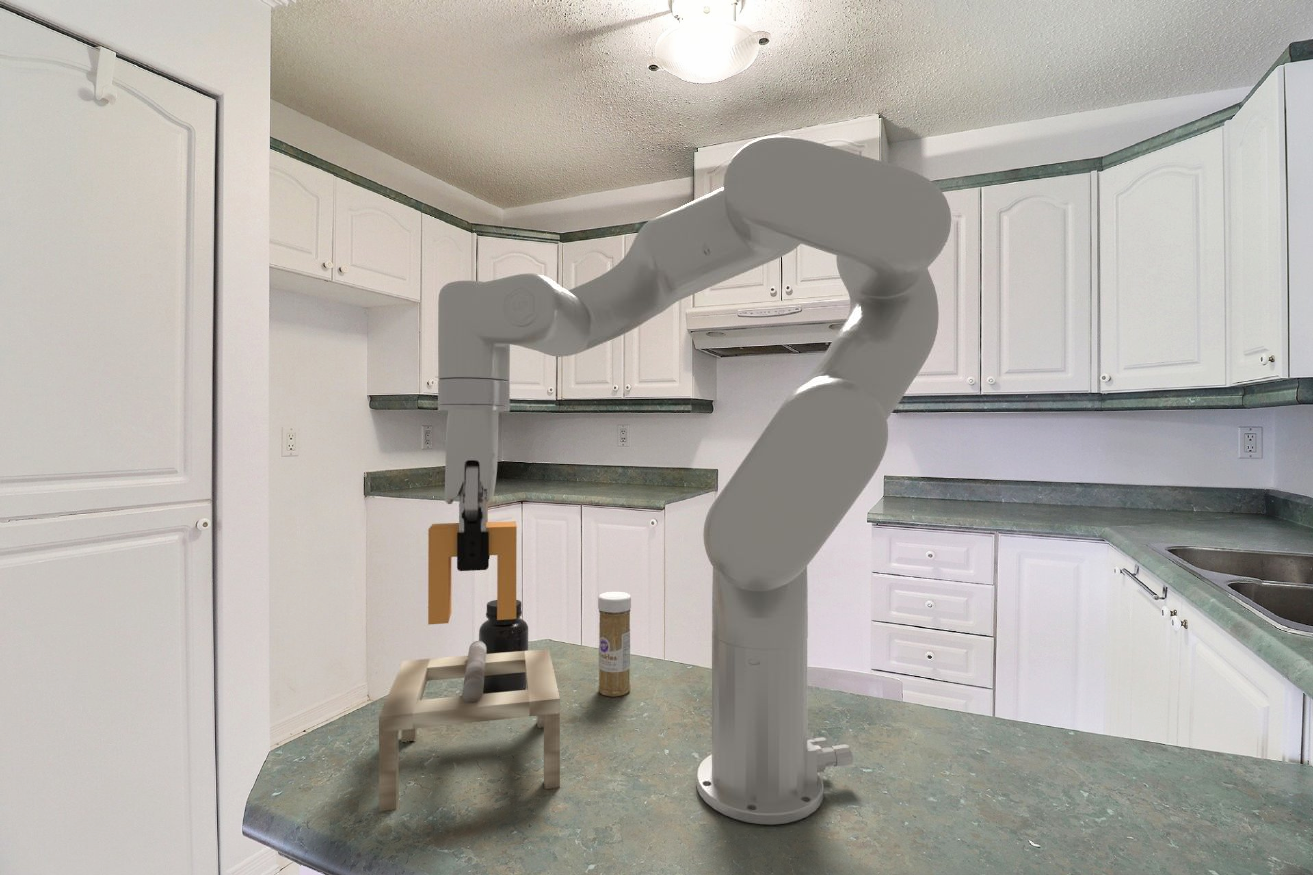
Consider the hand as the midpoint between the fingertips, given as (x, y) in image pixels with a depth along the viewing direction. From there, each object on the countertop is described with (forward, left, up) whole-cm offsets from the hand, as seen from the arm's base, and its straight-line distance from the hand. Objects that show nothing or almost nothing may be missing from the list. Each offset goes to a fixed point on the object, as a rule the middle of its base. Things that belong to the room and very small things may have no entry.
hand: (474, 563), depth 68 cm
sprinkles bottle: (-18, -14, -22) cm, 32 cm away
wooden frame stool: (0, 0, -22) cm, 22 cm away
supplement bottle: (-3, -19, -22) cm, 29 cm away
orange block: (0, 0, -6) cm, 6 cm away
